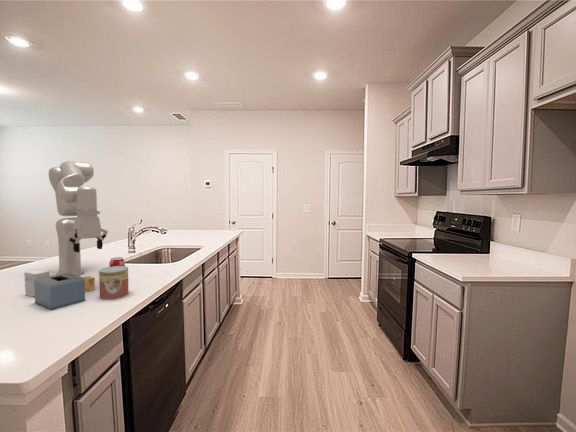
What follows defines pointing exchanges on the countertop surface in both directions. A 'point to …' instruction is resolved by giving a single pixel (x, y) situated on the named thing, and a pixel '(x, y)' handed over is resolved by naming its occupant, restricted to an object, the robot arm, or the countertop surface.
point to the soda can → (117, 262)
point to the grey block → (59, 290)
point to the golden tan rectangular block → (89, 283)
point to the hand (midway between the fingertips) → (88, 250)
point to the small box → (30, 280)
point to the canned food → (113, 282)
